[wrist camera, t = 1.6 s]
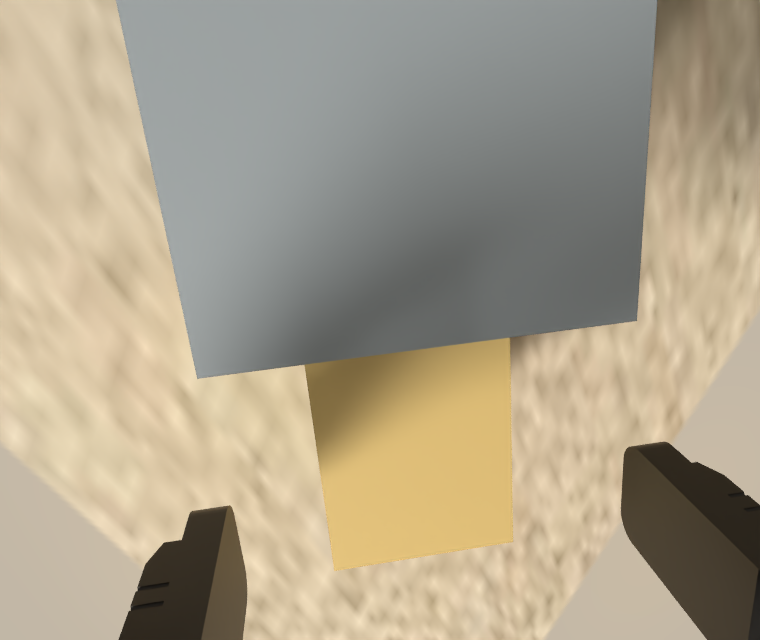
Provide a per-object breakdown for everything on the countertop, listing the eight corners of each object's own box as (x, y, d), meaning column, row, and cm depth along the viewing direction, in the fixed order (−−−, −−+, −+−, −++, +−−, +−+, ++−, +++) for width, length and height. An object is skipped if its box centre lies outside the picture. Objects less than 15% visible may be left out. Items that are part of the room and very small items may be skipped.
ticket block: (164, -215, 15) (-27, -664, 6) (479, -229, 15) (698, -651, 7) (245, 261, 19) (198, 383, 10) (490, 233, 19) (636, 325, 11)
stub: (302, 264, 19) (301, 344, 12) (439, 248, 19) (509, 317, 13) (324, 427, 21) (334, 570, 14) (448, 410, 21) (513, 542, 15)
